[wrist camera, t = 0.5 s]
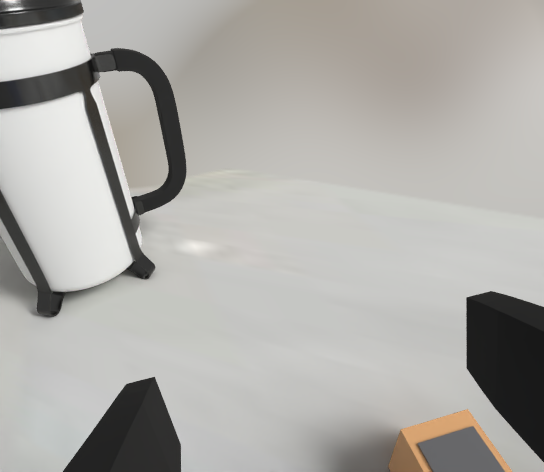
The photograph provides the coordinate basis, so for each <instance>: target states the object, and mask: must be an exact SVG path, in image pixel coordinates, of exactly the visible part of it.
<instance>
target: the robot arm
mask: <svg viewBox="0 0 544 472" xmlns="http://www.w3.org/2000/svg"><path fill="white" fill-rule="evenodd" d="M467 369H468V371H469V372H470V374H471V375H472V377H473V378H474V380H475V381H476V382H477V384H478V385H479V387H480V388H481V390H482V391H483V392H484V394H485V395H486V396H487V398H488V399H489V401H490V402H491V403H492V405H493V406H494V407H495V409H496V410H497V411H498V412H499V413H500V414H501V415H502V417H503V418H504V419H505V420H506V421H507V422H508V423H509V424H510V426H511V427H512V428H513V429H514V430H515V431H516V432H517V433H518V434H519V436H520V437H521V438H522V439H523V440H524V441H525V442H526V443H527V444H528V446H529V447H530V448H531V449H532V450H533V451H534V452H535V453H536V454H537V455H538V456H539V458H540V459H541V460H542V461H543V462H544V307H542V306H539V305H536V304H533V303H530V302H527V301H524V300H520V299H517V298H514V297H511V296H507V295H504V294H500V293H496V292H492V291H490V292H486V293H483V294H479V295H475V296H471V297H467ZM63 472H181V444H180V442H179V439H178V437H177V434H176V431H175V429H174V426H173V424H172V421H171V418H170V416H169V413H168V410H167V408H166V405H165V403H164V400H163V397H162V395H161V392H160V390H159V387H158V384H157V382H156V379H155V377H152V378H148V379H144V380H140V381H137V382H133V383H129V384H126V386H125V387H124V388H123V389H122V391H121V392H120V393H119V395H118V396H117V398H116V399H115V400H114V402H113V403H112V405H111V406H110V407H109V409H108V410H107V412H106V413H105V414H104V416H103V417H102V419H101V420H100V421H99V423H98V424H97V426H96V427H95V428H94V430H93V431H92V433H91V434H90V435H89V437H88V438H87V439H86V441H85V442H84V444H83V445H82V446H81V448H80V449H79V450H78V452H77V453H76V454H75V456H74V457H73V459H72V460H71V461H70V463H69V464H68V465H67V467H66V468H65V469H64V471H63Z"/></svg>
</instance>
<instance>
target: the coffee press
mask: <svg viewBox="0 0 544 472" xmlns="http://www.w3.org/2000/svg"><path fill="white" fill-rule="evenodd" d="M83 12H84V10H83V7H82V3H81V1H80V0H0V235H1V237H2V239H3V241H4V242H5V244H6V246H7V248H8V250H9V251H10V253H11V255H12V257H13V258H14V260H15V262H16V264H17V265H18V267H19V269H20V270H21V272H22V274H23V275H24V277H25V278H26V279H27V280H28V281H29V282H30V283H32V284H33V285H35V286H37V289H38V302H37V312H38V313H39V314H42V315H48V316H56V315H57V314H58V313H59V312H60V309H61V306H62V301H63V298H64V295H65V293H66V292H68V291H77V290H83V289H87V288H90V287H94V286H97V285H99V284H102V283H104V282H106V281H108V280H110V279H112V278H114V277H116V276H117V275H119V274H120V273H121V272H123V271H124V270H125V269H128V270H130V271H132V272H133V273H135V274H136V275H137V276H139V277H140V278H142V279H148V278H149V277H150V276H151V274H152V273H153V271H154V270H155V265H154V264H153V263H152V262H151V261H150V260H149V259H148V258H147V257H146V256H145V255H144V254H143V253H142V251H141V245H142V235H141V231H140V227H139V223H140V218H139V215H141V214H143V213H144V212H147V211H150V210H153V209H156V208H158V207H160V206H162V205H165V204H166V203H168V202H170V201H171V200H172V199H174V198H175V197H176V196H177V195H178V193H179V192H180V191H181V189H182V187H183V185H184V182H185V178H186V159H185V152H184V146H183V140H182V134H181V128H180V123H179V118H178V112H177V107H176V103H175V98H174V94H173V91H172V88H171V85H170V83H169V80H168V78H167V76H166V75H165V73H164V72H163V70H162V69H161V68H160V67H159V65H158V64H157V63H156V62H155V61H153V60H152V59H151V58H149V57H148V56H146V55H144V54H142V53H140V52H137V51H133V50H129V49H121V48H120V49H119V48H115V49H111V51H106V52H98V53H95V54H91V53H90V51H89V48H88V44H87V41H86V37H85V34H84V30H83V26H82V18H83V14H82V13H83ZM113 70H117V71H134V72H136V73H139V74H141V75H142V76H143V77H144V78H145V79H146V81H147V82H148V83H149V85H150V86H151V88H152V91H153V94H154V97H155V101H156V106H157V111H158V115H159V120H160V125H161V130H162V135H163V139H164V145H165V149H166V154H167V159H168V165H169V173H168V177H167V179H166V181H165V183H164V184H163V185H162V186H161V187H160V188H159V189H157V190H155V191H153V192H150V193H147V194H144V195H141V196H135V197H131V195H130V191H129V188H128V184H127V181H126V177H125V174H124V170H123V167H122V163H121V160H120V156H119V153H118V149H117V146H116V142H115V139H114V135H113V132H112V128H111V125H110V122H109V118H108V114H107V111H106V107H105V104H104V100H103V97H102V93H101V90H100V86H99V83H98V80H99V78H100V75H99V72H107V71H113ZM134 260H135V261H134ZM51 291H53V292H52V294H51Z"/></svg>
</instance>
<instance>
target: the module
mask: <svg viewBox="0 0 544 472" xmlns="http://www.w3.org/2000/svg"><path fill="white" fill-rule="evenodd" d="M388 467H389V469H390V472H512V471H511V469H510V468H509V466H508V465H507V463H506V462H505V461H504V459H503V458H502V456H501V455H500V454H499V452H498V451H497V449H496V448H495V447H494V445H493V444H492V442H491V441H490V440H489V438H488V437H487V435H486V434H485V433H484V431H483V430H482V428H481V427H480V426H479V424H478V423H477V421H476V420H475V419H474V417H473V416H472V414H471V413H470V412H469V410H468V409H467V410H464V411H460V412H457V413H454V414H451V415H447V416H444V417H441V418H437V419H434V420H431V421H427V422H424V423H421V424H418V425H414V426H411V427H408V428H404V429H401V430H400V433H399V436H398V439H397V442H396V445H395V448H394V451H393V454H392V457H391V460H390V462H389V465H388Z"/></svg>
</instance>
